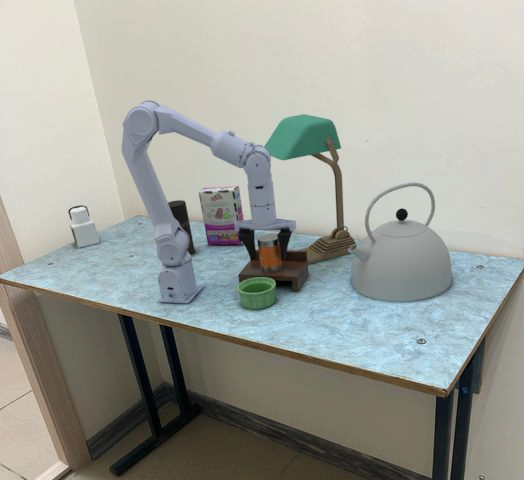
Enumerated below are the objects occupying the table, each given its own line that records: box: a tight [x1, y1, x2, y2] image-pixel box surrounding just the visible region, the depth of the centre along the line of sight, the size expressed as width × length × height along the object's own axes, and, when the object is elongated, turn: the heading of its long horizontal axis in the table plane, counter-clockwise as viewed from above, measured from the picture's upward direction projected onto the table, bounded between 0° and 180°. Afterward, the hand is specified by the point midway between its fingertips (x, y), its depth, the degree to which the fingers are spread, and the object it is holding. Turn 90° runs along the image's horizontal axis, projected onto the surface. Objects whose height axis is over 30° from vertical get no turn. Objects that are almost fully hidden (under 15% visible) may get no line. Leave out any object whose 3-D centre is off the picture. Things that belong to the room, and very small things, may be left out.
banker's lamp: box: [263, 113, 357, 265], centre depth 139 cm, size 16×21×35 cm
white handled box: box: [67, 204, 101, 249], centre depth 177 cm, size 7×7×12 cm
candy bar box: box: [198, 185, 245, 246], centre depth 160 cm, size 11×5×16 cm, turn 73°
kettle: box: [348, 181, 452, 303], centre depth 122 cm, size 25×23×22 cm
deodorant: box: [167, 199, 196, 256], centre depth 157 cm, size 6×6×15 cm
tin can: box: [256, 233, 283, 273], centre depth 131 cm, size 6×6×8 cm
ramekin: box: [236, 277, 277, 310], centre depth 126 cm, size 9×9×4 cm
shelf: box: [237, 249, 310, 293], centre depth 134 cm, size 10×15×6 cm, turn 71°
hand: (268, 259), depth 130 cm, fingers open, 7 cm apart
